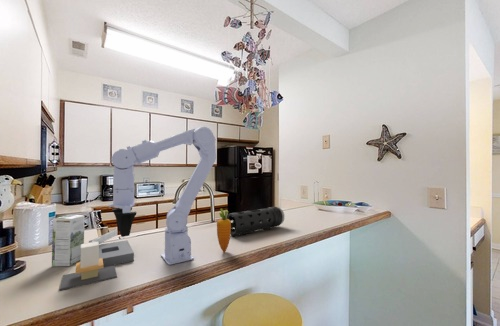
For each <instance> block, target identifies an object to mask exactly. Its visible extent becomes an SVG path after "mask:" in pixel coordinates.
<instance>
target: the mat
mask: <svg viewBox="0 0 500 326" xmlns="http://www.w3.org/2000/svg"><path fill="white" fill-rule="evenodd" d="M117 275H118V274H117V270H116V266H115V265H110V266H105V267H103V268H101V269H98V276H97V277H92V278H88V279H83V280H81V273H77V274H75V272H72V273H67V274H63V275H62V278H61V282H60V286H59V291H64V290H65V291H66V290H68V289H73V288H77V287H83V286H85V285H90V284H94V283H95V284H96V283H99V282H103V281H106V280H107V281H108V280H111V279H115V278H118V276H117Z"/></svg>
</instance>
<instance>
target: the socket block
mask: <svg viewBox="0 0 500 326" xmlns="http://www.w3.org/2000/svg"><path fill="white" fill-rule="evenodd" d="M100 258H102V259H103V267H105V266H110V265H114V266H115V265H120V264H124V263H125V264H126V263H129V262H134V261H135V251H134V250H133V248H132V246H131V245H130V243H129V241H128V240H127V239H126V240H120V241H116V242H115V241H114V242H108V243H101V244H99V259H100Z"/></svg>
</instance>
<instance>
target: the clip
mask: <svg viewBox="0 0 500 326" xmlns="http://www.w3.org/2000/svg"><path fill="white" fill-rule="evenodd" d="M116 236H118V229H114V230H110V231H109V232H107V233H104V234H102V235H100V236H98V237H95V238H94V239H90V240H89V241H88V243H91V242H98V241H99V245H101V244H104V242H106V241H108V240H110V239H112V238H114V237H116Z"/></svg>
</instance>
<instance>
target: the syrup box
mask: <svg viewBox="0 0 500 326" xmlns="http://www.w3.org/2000/svg"><path fill="white" fill-rule="evenodd" d="M85 217H86V216H85V215H83V214H68V215H63V216H59V217H54V218H53V219H52V239H51V241H52V245H51V267H70V266H73V265H76V263H79V262H81V244H85V219H86V218H85Z"/></svg>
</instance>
